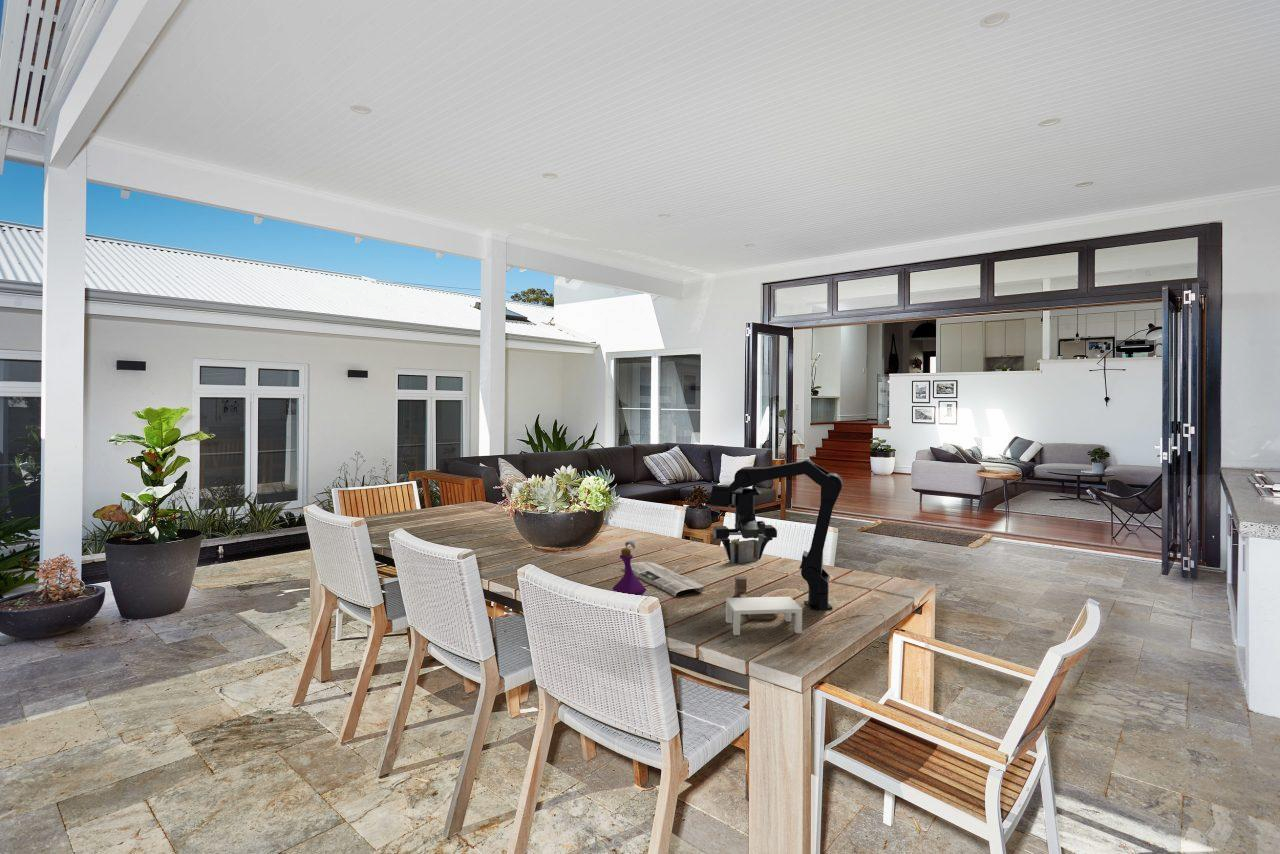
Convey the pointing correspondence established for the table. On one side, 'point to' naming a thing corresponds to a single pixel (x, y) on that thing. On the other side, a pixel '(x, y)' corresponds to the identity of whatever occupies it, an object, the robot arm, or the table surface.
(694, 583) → the newspaper
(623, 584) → the perfume bottle
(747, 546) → the ruin model on sheet
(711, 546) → the table surface
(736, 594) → the tan post with foot
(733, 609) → the low shelf
